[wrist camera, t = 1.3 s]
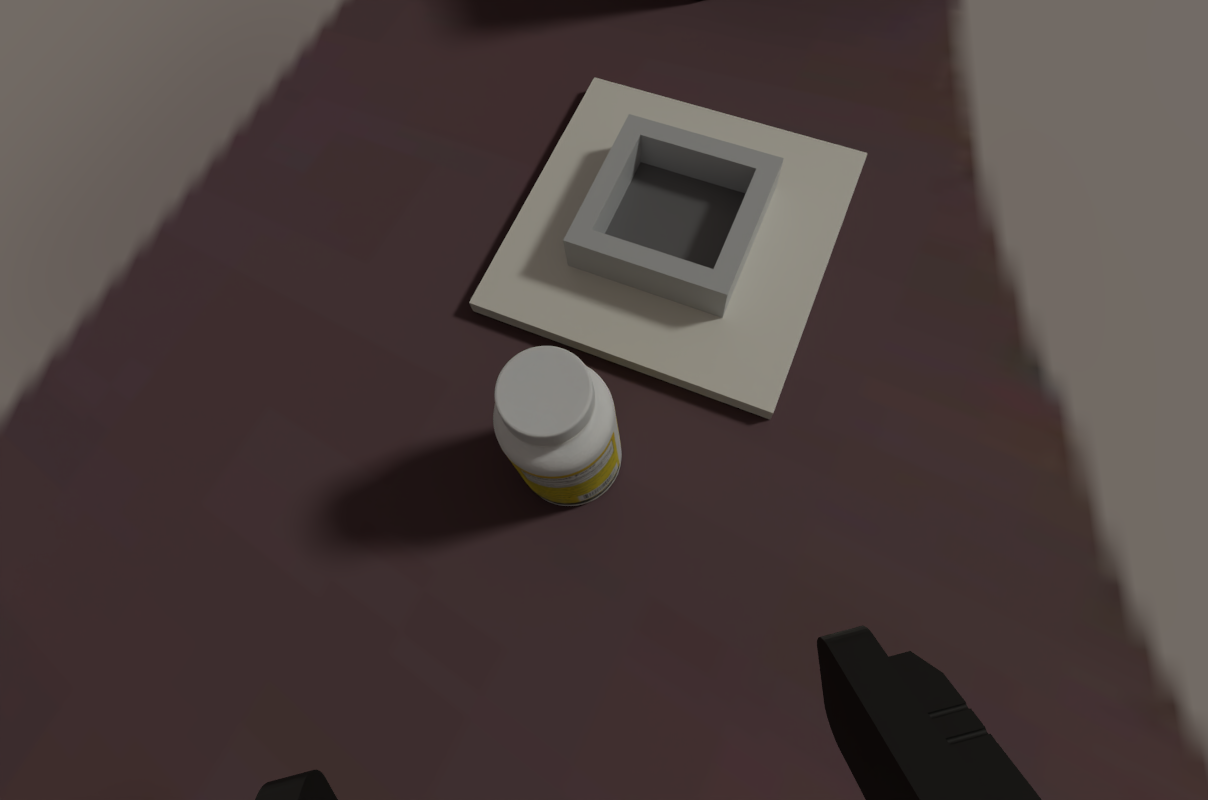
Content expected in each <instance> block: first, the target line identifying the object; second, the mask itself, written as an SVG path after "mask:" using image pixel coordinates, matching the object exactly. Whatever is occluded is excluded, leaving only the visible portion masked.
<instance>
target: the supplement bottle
mask: <svg viewBox="0 0 1208 800" xmlns="http://www.w3.org/2000/svg"><path fill="white" fill-rule="evenodd" d="M494 396H495V407H494V414H493V424H494V431H495V435H496V438H497V440H498V442H499V445H500V447H501V449H502V450H503V452H504V453H505V454H506V456H507V457H508V459H509V460H510V461H511V463H512V464H513V466H514V467H515V468H516V470H517V471H518V472H519V474H520V475H521V477H522V478H523V479H524V481H525V482H526V483H527V485H528V486H529V487H530V488H531V489H532V490H533V491H534V492H535V493H536V494H537V495H538V496H539V497H541V498H542V499H544V500H546V501H548V502H551V503H553V504H557V505H562V506H577V505H582V504H586V503H588V502H591V501H593V500H595V499H596V498H598V497H600V496H601V495H602V494H603V493H604V492H606V491H607V490H608V488H609V487H610V486H611V485H612V483H613V482H614V480H615V479H616V476H617V474H618V472H619V468H620V464H621V443H620V437H619V431H618V425H617V419H616V414H615V408H614V403H613V399H612V396H611V394H610V391H609V389H608V387H607V386H606V384H605V383H604V381H603V380H602V379H601V378H600V376H599V375H598V374H597V373H595V372H594V371H593V370H592V369H590V368H589V367H587V366H585V364H584V363H583V362H582V361H581V360H580V359H579V358H578V357H577V356H576V355H574V354H573V353H572V352H570V351H568V350H565V349H563V348H559V347H555V346H538V347H533V348H530V349H527V350H525V351H522V352H520V353H519V354H517V355H516V356H514V357H513V358H512V359H511V360H510V361H508V363H507V364H506V365H505V366H504V368H503V369H502V370H501V372H500V374H499V376H498V379H497V382H496V386H495V394H494Z"/></svg>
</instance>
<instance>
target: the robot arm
mask: <svg viewBox="0 0 1208 800" xmlns="http://www.w3.org/2000/svg"><path fill="white" fill-rule="evenodd" d="M817 648H818V656H819V664H820V672H821V680H822V688H823V696H824V704H825V710H826V714H827V718H828V721H829V724H830V727H831V730H832V733H833V735H834V738H835V740H836V742H837V745H838V747H839V749H840V751H841V753H842V755H843V756H844V758H845V760H846V762H847V764H848V766H849V768H850V770H851V772H852V774H853V776H854V778H855V780H856V782H857V783H858V785H859V787H860V789H861V791H862V793H863V795H864V797H865V799H866V800H1041V798H1040V797H1039V796H1038V795H1037V793H1036V792H1035V791H1034V789H1033V788H1032V787H1031V786H1030V784H1029V783H1028V782H1027V780H1026V779H1025V778H1024V777H1023V775H1022V774H1021V773H1020V771H1019V770H1018V769H1017V768H1016V766H1015V765H1014V764H1013V762H1012V761H1011V760H1010V759H1009V757H1008V756H1007V755H1006V753H1005V752H1004V751H1003V750H1002V748H1001V747H1000V746H999V744H998V743H997V742H996V741H995V739H994V738H993V737H992V735H991V734H988V733H987V731H986V729H985V726H984V725H983V724H982V723H981V721H980V720H979V719H978V717H977V716H976V715H975V714H974V712H973V711H972V710H971V709H968V707H967V705H966V702H965V701H964V699H963V698H962V697H961V696H960V694H959V693H958V692H957V690H956V689H955V688H954V687H953V685H952V684H951V683H950V681H949V680H948V679H947V678H946V676H945V675H944V674H943V673H942V672H941V671H939V670H938V669H936V668H935V667H933V666H932V665H930V664H929V663H927V662H926V661H924V660H923V659H921V658H920V657H918V656H917V655H915V654H914V653H912V652H911V651H909V652H905V653H901V654H898V655H894V656H890V657H888V656H887V654H886V653H885V651H884V650H883V648H882V647H881V646H880V644H879V643H878V641H877V640H876V638H875V637H874V636H873V634H872V633H871V632H870V630H869V629H868V628H866V627H865V626H860V627H856V628H852V629H848V630H845V631H841V632H837V633H833V634H830V635H826V636H822V637H819V638H818V639H817ZM255 800H338V799H337V798H336V796H335V794H334V792H333V791H332V789H331V787H330V785H329V783H328V782H327V780H326V778H325V776H324V775H323V774H322V773H321V772H320V771H318V770H312V771H308V772H304V773H301V774H297V775H293V776H289V777H286V778H282V779H278V780H274V781H271V782H267V783H266V784H264V785H263V786H262V788H261V789H260V791H259V792H258V795H257V797H256V799H255Z"/></svg>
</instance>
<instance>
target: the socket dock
mask: <svg viewBox="0 0 1208 800" xmlns="http://www.w3.org/2000/svg"><path fill="white" fill-rule="evenodd" d="M866 156H867V153H865V152H861V151H858V150H854V149H850V148H847V147H843V146H840V145H836V144H832V143H829V142H825V141H822V140H818V139H814V138H811V137H807V136H804V135H800V134H796V133H793V132H789V131H786V130H782V129H778V128H775V127H771V126H768V125H764V124H760V123H757V122H753V121H750V120H746V119H742V118H739V117H735V116H732V115H728V114H724V113H721V112H717V111H714V110H710V109H706V108H703V107H699V106H696V105H692V104H688V103H685V102H681V101H678V100H674V99H670V98H667V97H663V96H660V95H656V94H652V93H649V92H645V91H642V90H638V89H634V88H631V87H627V86H624V85H620V84H616V83H613V82H609V81H606V80H602V79H598V78H595V77H594V79H593V81H592V83H591V84H590V86H589V88H588V90H587V92H586V93H585V95H584V97H583V99H582V101H581V102H580V104H579V106H578V108H577V110H576V111H575V113H574V115H573V117H572V119H571V120H570V122H569V124H568V126H567V128H566V129H565V131H564V133H563V135H562V137H561V138H560V140H559V142H558V144H557V145H556V147H555V149H554V151H553V153H552V154H551V156H550V158H549V160H548V162H547V163H546V165H545V167H544V169H543V171H542V172H541V174H540V176H539V178H538V180H537V181H536V183H535V185H534V187H533V189H532V190H531V192H530V194H529V196H528V198H527V199H526V201H525V203H524V205H523V207H522V208H521V210H520V212H519V214H518V216H517V217H516V219H515V221H514V223H513V225H512V226H511V228H510V230H509V232H508V233H507V235H506V237H505V239H504V241H503V242H502V244H501V246H500V248H499V250H498V251H497V253H496V255H495V257H494V259H493V260H492V262H491V264H490V266H489V268H488V269H487V271H486V273H485V275H484V277H483V278H482V280H481V282H480V284H479V286H478V287H477V289H476V291H475V293H474V295H473V296H472V298H471V300H470V302H469V304H470V306H471V308H472V310H473V311H474V312H477V313H480V314H482V315H485V316H488V317H491V318H493V319H496V320H499V321H501V322H504V323H507V324H510V325H512V326H515V327H518V328H521V329H523V330H526V331H529V332H532V333H534V334H537V335H540V336H542V337H545V338H548V339H551V340H553V341H556V342H559V343H562V344H564V345H567V346H570V347H573V348H575V349H578V350H581V351H583V352H586V353H589V354H592V355H594V356H597V357H600V358H603V359H605V360H608V361H611V362H614V363H616V364H619V365H622V366H625V367H627V368H630V369H633V370H635V371H638V372H641V373H644V374H646V375H649V376H652V377H655V378H657V379H660V380H663V381H666V382H668V383H671V384H674V385H676V386H679V387H682V388H685V389H687V390H690V391H693V392H696V393H698V394H701V395H704V396H707V397H709V398H712V399H715V400H718V401H720V402H723V403H726V404H728V405H731V406H734V407H737V408H739V409H742V410H745V411H748V412H750V413H753V414H756V415H759V416H761V417H764V418H767V419H769V420H770V419H771V417H772V415H773V412H774V410H775V407H776V404H777V401H778V399H779V396H780V393H781V390H782V388H783V385H784V382H785V379H786V377H787V374H788V371H789V368H790V366H791V363H792V360H793V357H794V355H795V352H796V349H797V346H798V344H799V341H800V338H801V335H802V333H803V330H804V327H805V324H806V321H807V319H808V316H809V313H810V310H811V308H812V305H813V302H814V299H815V297H816V294H817V291H818V288H819V286H820V283H821V280H822V277H823V275H824V272H825V269H826V266H827V264H828V261H829V258H830V255H831V253H832V250H833V247H834V244H835V242H836V239H837V236H838V233H839V230H840V228H841V225H842V222H843V219H844V217H845V214H846V211H847V208H848V206H849V203H850V200H851V197H852V195H853V192H854V189H855V186H856V184H857V181H858V178H859V175H860V173H861V170H862V167H863V164H864V162H865V159H866Z"/></svg>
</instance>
